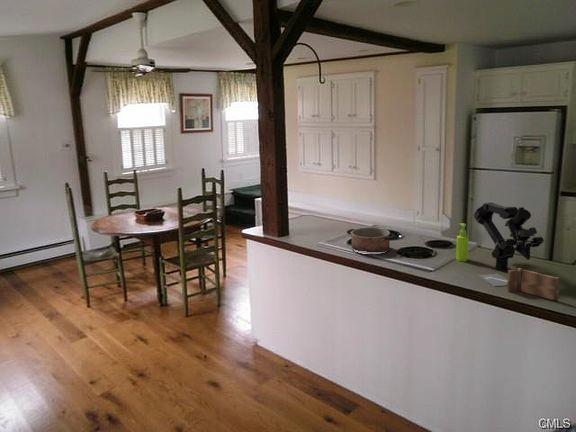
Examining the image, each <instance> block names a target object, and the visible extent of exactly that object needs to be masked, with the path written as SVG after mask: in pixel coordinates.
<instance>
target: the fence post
mask: <svg viewBox="0 0 576 432" xmlns="http://www.w3.org/2000/svg"><path fill="white" fill-rule="evenodd" d="M523 270H524V269H523V268H522V267H517V269H509V270H507V272H508V273H507V280H508V283H507V286H506V291H507V292H508V293H510V292H511V293H513V292H522V291H521V287H522V276H523Z"/></svg>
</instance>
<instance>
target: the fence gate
mask: <svg viewBox="0 0 576 432" xmlns="http://www.w3.org/2000/svg"><path fill="white" fill-rule="evenodd" d="M560 282H561V277H559V276H553V275H548V274H544V273H539V272H536V271H532V270H528V269H523V273H522V284H521V291H520V292H522V293H527V294H530V295H534V296H538V297H541V298H544V299H547V300H548V299H549V300H552V301H555V302H558V300H559V293H560V284H561V283H560Z"/></svg>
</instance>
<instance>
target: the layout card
mask: <svg viewBox="0 0 576 432" xmlns="http://www.w3.org/2000/svg"><path fill="white" fill-rule="evenodd" d="M478 277H479V278H481V279H482V280H484V281H485V282H486V283H488V284H489V285H491V286H492V287H494V288H496V287H507V283H508V278H505V277H504V276H502V275H501V274H499V273H490V274H489V273H488V274H478Z"/></svg>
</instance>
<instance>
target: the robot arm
mask: <svg viewBox="0 0 576 432" xmlns="http://www.w3.org/2000/svg"><path fill="white" fill-rule="evenodd" d="M494 214H497V215H499V218H502V219H503V220H506V222H505V224H504V226H505V227H508V229H509V232H510V235H509V236H510V237H511V238H507V239H505V238H504V237H503V235H502V234H501V232H500V230H499V229H498V227H497V226H496V225H495V223H494V222H493V216H494ZM473 218H474V220H475V221H476V222H477V223H478V224H480V225H481V226H483V227H484V228H485V230H486V233H487V234H488V235H489V236H490V238H491V240H492V241H493V243H494V249H493V251H491V256H492V258H494V259H495V266H493V267H492V269H493V270H497V271H501V272H508V270H511V267H510V266H509V259H513V258H514V255H515V252H518V253H519V254H520V255H521V256H523V257H524V258H525V259H526V260H530V259H531V248H538V247H540V246H541V245H542V244H543V243H544V242H545V240H544V238H543V237H542V236H535V235H537V234H538V231H537V229H536V227H535V226H534V227H529V228H527V229H526V228H523V226H524V225H525V224H526V223H527V222H528V220H530V219H531V218H532V213H531V212H530V211H529V210H527V209H525V207H523V206H521V207H519V208H517V207H516V206H503V205H501V204H496V203H494V202H485V203H483V204H482V205H481V206H480V207H478V208H477V209H476V210H475V212H474V213H473ZM531 237H532V239H531Z"/></svg>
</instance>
